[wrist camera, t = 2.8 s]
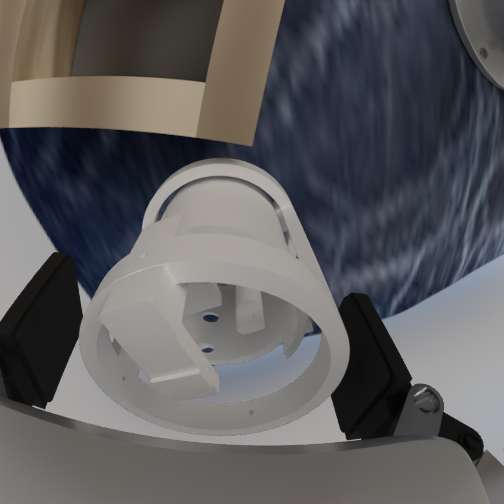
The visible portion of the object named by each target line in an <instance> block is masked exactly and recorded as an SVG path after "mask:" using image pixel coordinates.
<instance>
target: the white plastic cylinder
mask: <svg viewBox="0 0 504 504" xmlns="http://www.w3.org/2000/svg"><path fill="white" fill-rule="evenodd" d="M193 180H194V181H193ZM190 181H192V182H190ZM188 182H190V183H188ZM186 183H188V184H187V185H185V186H184V187H183V188H181V189H180V190H179V191H178V192H177V193H176V194H175V195H174V197H173V198H172V199H171V201H170V203H169V204H168V206H167V208H166V210H165V212H164V214H163V216H162V218H161V220H160V221H158V215H159V211H160V208H161V206H162V204H163V202H164V201H165V200H166V199H167V197H168V196H169V195H170V194H171V193H173V192H174V191H175V190H176V189H178V188H179V187H181V186H182V185H184V184H186ZM254 184H255V185H254ZM256 185H257V186H259V187H260V188H262V189H263V190H264V191H266V192H267V193H268V194H269V195H270V196H271V197H272V198H273V199H274V200H275V201H274V202H273V203H272V201H271V200H270V198H269V197H268V196H267V195H266V194H265V193H264V192H263V191H262V190H261V189H260V188H259V187H257V186H256ZM273 204H274V205H273ZM283 232H285V236H284V233H283ZM296 256H298V259H299V260H298V259H297V258H296ZM205 315H216V316H218V317H219V319H218V320H217V321H216V322H207V321H205V320H203V317H204V316H205ZM309 316H310V317H311V318H312V319H313V320H314V321H315V322H316V323H317V325H318V326H319V327H320V328H321V330H322V338H321V344H320V347H319V350H318V352H317V355H316V357H315V359H314V360H313V362H312V363H311V365H310V366H309V367H308V369H307V370H306V371H305V372H304V373H303V374H302V375H301V376H300V377H299V378H298V379H296V380H295V381H294V382H292V383H291V384H289V385H288V386H286V387H285V388H283V389H281V390H279V391H277V392H275V393H273V394H270V395H268V396H265V397H262V398H259V399H255V400H251V401H246V402H240V403H232V404H208V403H199V402H193V401H188V400H187V399H193V398H199V397H204V396H209V395H214V394H219V378H220V377H219V375H218V373H217V372H216V371H215V369H214V368H213V367H212V365H227V364H236V363H241V362H246V361H250V360H253V359H255V358H258V357H260V356H263V355H265V354H267V353H268V352H270V351H272V350H273V349H275V348H276V347H277V346H279V345H280V344H281V343H282V342H283V348H284V353H285V355H286V357H287V359H288V358H289V357H290V356H291V355H292V354H293V353H294V352H295V350H296V349H297V348H298V346H299V345H300V343H301V341H302V339H303V337H304V334H306V333H309V332H312V331H314V330H313V327H312V323H311V320H310V317H309ZM109 332H110V333H111V334H112V336H113V337H114V341H113V343H112V342H111V339H110V336H109ZM79 345H80V351H81V355H82V358H83V361H84V364H85V366H86V368H87V370H88V372H89V374H90V375H91V377H92V378H93V379H94V381H95V382H96V383H97V385H98V386H99V387H100V388H101V389H102V390H103V391H104V392H105V393H106V394H107V395H108V396H109V397H110V398H111V399H112V400H113V401H115V402H116V403H117V404H119V405H120V406H121V407H123V408H124V409H126V410H127V411H129V412H131V413H133V414H134V415H136V416H138V417H140V418H142V419H144V420H146V421H149V422H151V423H154V424H156V425H159V426H162V427H165V428H169V429H172V430H176V431H180V432H186V433H191V434H198V435H208V436H234V435H245V434H251V433H257V432H262V431H266V430H269V429H273V428H277V427H280V426H282V425H285V424H288V423H290V422H292V421H294V420H297V419H299V418H301V417H302V416H304V415H306V414H308V413H309V412H311V411H312V410H314V409H315V408H316V407H318V406H319V405H320V404H322V403H323V402H324V401H325V400H326V399H327V398H328V397H329V396H330V395H331V394H332V393H333V392H334V390H335V389H336V388H337V386H338V385H339V383H340V382H341V380H342V378H343V376H344V374H345V372H346V369H347V366H348V362H349V354H350V347H349V339H348V335H347V332H346V329H345V327H344V324H343V322H342V319H341V317H340V314H339V312H338V309H337V307H336V304H335V302H334V300H333V297H332V295H331V292H330V290H329V288H328V285H327V283H326V280H325V278H324V276H323V273H322V271H321V269H320V266H319V264H318V262H317V259H316V257H315V255H314V252H313V250H312V248H311V246H310V243H309V241H308V239H307V237H306V234H305V232H304V230H303V228H302V225H301V223H300V221H299V219H298V217H297V214H296V212H295V210H294V208H293V206H292V204H291V201H290V199H289V197H288V195H287V194H286V192H285V191H284V189H283V188H282V186H281V185H280V184H279V183H278V182H277V181H276V180H275V179H274V178H273V177H272V176H271V175H269V174H268V173H267V172H265V171H264V170H262V169H261V168H259V167H257V166H255V165H253V164H250V163H247V162H244V161H241V160H237V159H230V158H211V159H205V160H200V161H197V162H194V163H191V164H189V165H187V166H185V167H183V168H181V169H179V170H178V171H176V172H175V173H174V174H172V175H171V176H170V177H169V178H168V179H167V180H166V181H165V182H164V183H163V184H162V185H161V187H160V188H159V189H158V191H157V192H156V194H155V195H154V197H153V198H152V200H151V201H150V203H149V205H148V207H147V210H146V212H145V215H144V219H143V225H142V232H141V234H140V236H139V238H138V239H137V241H136V243H135V245H134V247H133V249H132V250H131V252H130V254H129V255H127V256H126V257H124V258H123V259H122V260H120V261H119V262H118V263H117V264H116V265H115V266H114V267H113V268H112V269H111V270H110V271H109V272H108V273H107V275H106V276H105V277H104V279H103V280H102V282H101V284H100V285H99V287H98V289H97V291H96V293H95V295H94V296H93V298H92V300H91V302H90V304H89V306H88V308H87V310H86V312H85V314H84V316H83V319H82V322H81V325H80V331H79ZM204 348H213V349H214V350H213V351H212V352H210V353H204V352H202V350H203V349H204ZM140 368H141V369H142V370H143V371H144V372H145V373H146V374H147V375H148V377H149V378H150V379H151V381H150V383H151V385H152V386H153V387H154V388H153V387H152V386H150V385H148V384H147V383H145V382H144V381H142V380H141V379H140V378H138V374H139V370H140Z"/></svg>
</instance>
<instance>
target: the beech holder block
mask: <svg viewBox="0 0 504 504" xmlns="http://www.w3.org/2000/svg"><path fill="white" fill-rule="evenodd" d="M284 2H285V0H0V128H15V127H79V128H102V129H118V130H131V131H143V132H153V133H163V134H172V135H180V136H188V137H196V138H203V139H210V140H216V141H223V142H229V143H235V144H241V145H246V146H252V144H253V140H254V135H255V130H256V126H257V121H258V116H259V112H260V107H261V102H262V98H263V93H264V89H265V84H266V80H267V75H268V71H269V66H270V62H271V57H272V53H273V49H274V44H275V40H276V36H277V31H278V27H279V23H280V19H281V14H282V10H283V6H284Z"/></svg>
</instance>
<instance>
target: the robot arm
mask: <svg viewBox="0 0 504 504" xmlns="http://www.w3.org/2000/svg"><path fill="white" fill-rule="evenodd" d="M449 5H450V10H451V13H452V16H453V20H454V23H455V26H456V28H457V30H458V33H459V35H460V38H461V40H462V42H463V44H464V46H465V48H466V49H467V51H468V53H469V55H470V57H471V58H472V60H473V61H474V63H475V64H476V66H477V67H478V68H479V70H480V71H481V72H482V73H483V74H484V76H485V77H486V78H487V79H488V80H489V81H490V82H492V83H493V84H494V85H495V86H496V87H498V88H499V89H501V90H503V91H504V0H449ZM338 312H339V314H340V317H341V319H342V322H343V324H344V327H345V329H346V332H347V335H348V339H349V347H350V354H349V362H348V366H347V369H346V372H345V374H344V376H343V378H342V380H341V382H340V383H339V385H338V386H337V388H336V389H335V390H334V392H333V393H332V394H331V398H332V402H333V405H334V408H335V412H336V416H337V419H338V423H339V426H340V430H341V431H342V432H343V433H345V435H346V439H347V440H353V439H360V438H361V440H356V441H347V442H335V443H324V444H309V445H284V446H253V445H226V444H211V443H198V442H189V441H180V440H171V439H164V438H157V437H151V436H145V435H140V434H134V433H128V432H124V431H118V430H113V429H109V428H105V427H101V426H96V425H93V424H88V423H85V422H81V421H77V420H74V419H70V418H67V417H63V416H60V415H56V414H53V413H50V412H46V411H43V410H40V409H37V408H34V407H32V406H33V405H34V406H37V407H40V408H43V409H45V408H46V405H47V402H51V401H52V400H53V397H54V395H55V392H56V390H57V387H58V384H59V382H60V379H61V377H62V375H63V372H64V370H65V367H66V365H67V363H68V360H69V357H70V355H71V353H72V351H73V349H74V346H75V344H76V342H77V340H78V338H79V331H80V325H81V322H82V319H83V314H82V308H81V302H80V295H79V289H78V282H77V274H76V266H75V261H74V260H73V259H71V257H70V255H69V254H64V253H58V252H54V253H53V254H52V255H51V256H50V257H49V258H48V260H47V261H46V262H45V263H44V264H43V265H42V267H41V268H40V269H39V270H38V272H37V273H36V274H35V275H34V277H33V278H32V279H31V280H30V282H29V283H28V284H27V286H26V287H25V288H24V290H23V291H22V292H21V293H20V295H19V296H18V298H17V299H16V300H15V302H14V303H13V304H12V306H11V307H10V308H9V310H8V311H7V313H6V314H5V316H4V317H3V319H2V320H1V322H0V504H504V466H503V465H502V464H501V463H500V462H499V461H498V460H497V459H496V458H495V457H494V456H493V455H492V454H491V453H490V452H489V451H487V450H486V451H484V452H483V448H484V445H483V441H482V439H481V436H480V435H479V434H478V433H477V432H476V431H475V430H474V429H472V428H470V427H469V426H467V425H465V424H463V423H462V422H460V421H458V420H456V419H455V418H453V417H451V416H450V415H448V414H446V413H444V412H443V411H444V402H443V399H442V397H441V396H440V394H439V393H438V392H437V391H436V390H435V389H434V388H432V387H431V386H429V385H426V384H415V385H414V386H412V385H411V383H410V381H411V380H412V377H411V375H410V373H409V371H408V369H407V367H406V365H405V363H404V361H403V359H402V357H401V355H400V353H399V352H398V350H397V348H396V346H395V344H394V342H393V340H392V338H391V337H390V335H389V333H388V331H387V329H386V328H385V326H384V324H383V322H382V320H381V318H380V317H379V315H378V313H377V311H376V310H375V308H374V306H373V304H372V303H371V301H370V299H369V297H368V296H367V295H366V294H360V293H350V294H349V295H348V296H346V297H344V299H343V301H342V303H341V305H340V308H339V310H338Z"/></svg>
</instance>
